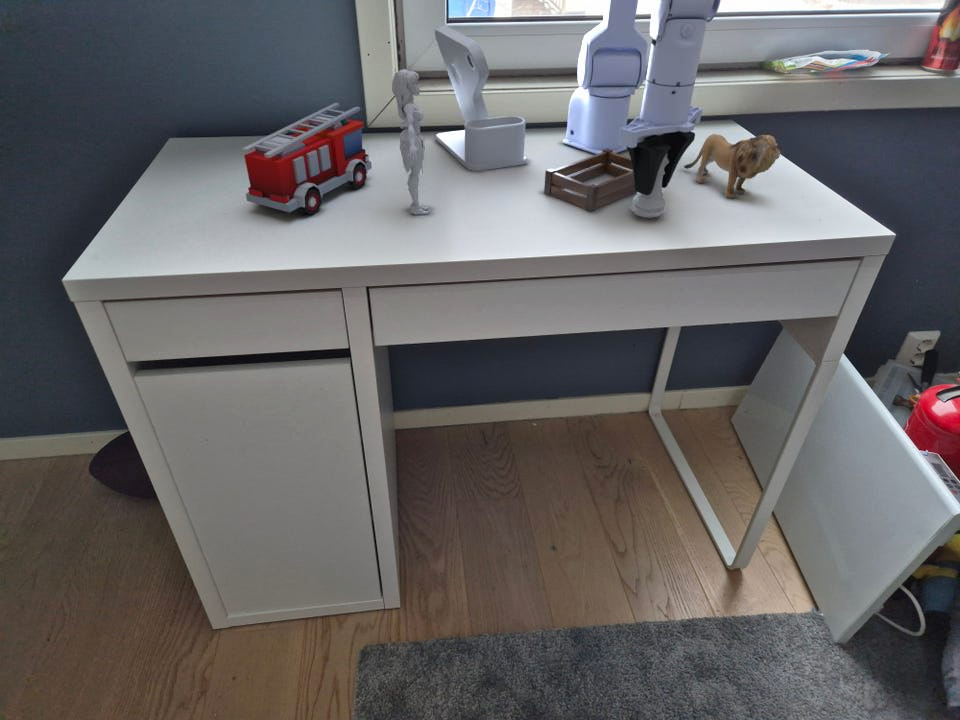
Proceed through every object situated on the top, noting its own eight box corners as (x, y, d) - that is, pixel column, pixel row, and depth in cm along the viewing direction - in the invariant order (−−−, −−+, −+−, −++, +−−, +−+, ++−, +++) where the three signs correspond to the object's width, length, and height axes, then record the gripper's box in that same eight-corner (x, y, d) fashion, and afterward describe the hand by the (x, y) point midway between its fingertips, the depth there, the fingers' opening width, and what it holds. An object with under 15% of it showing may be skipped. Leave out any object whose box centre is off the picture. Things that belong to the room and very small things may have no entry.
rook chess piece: (665, 207, 89) (677, 149, 84) (661, 220, 86) (673, 161, 81) (632, 203, 90) (642, 145, 86) (627, 215, 87) (637, 156, 82)
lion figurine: (773, 199, 93) (792, 136, 88) (749, 207, 91) (767, 143, 85) (694, 167, 103) (707, 108, 97) (670, 174, 100) (682, 114, 95)
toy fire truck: (378, 178, 98) (373, 109, 92) (294, 225, 84) (281, 149, 78) (331, 167, 101) (322, 100, 95) (243, 211, 88) (226, 136, 82)
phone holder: (530, 164, 103) (537, 39, 92) (470, 172, 100) (471, 45, 89) (487, 131, 116) (488, 18, 105) (433, 137, 113) (429, 22, 102)
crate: (543, 192, 94) (545, 170, 92) (604, 170, 102) (607, 148, 100) (591, 212, 89) (593, 188, 87) (651, 186, 96) (655, 164, 94)
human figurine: (432, 230, 84) (427, 82, 73) (403, 232, 83) (394, 83, 73) (423, 193, 93) (417, 58, 83) (397, 195, 93) (387, 59, 82)
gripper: (662, 98, 72) (642, 213, 80) (732, 77, 80) (707, 184, 88) (611, 85, 76) (597, 196, 84) (682, 66, 84) (663, 169, 92)
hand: (650, 189), depth 86 cm, fingers closed on rook chess piece, 3 cm apart
